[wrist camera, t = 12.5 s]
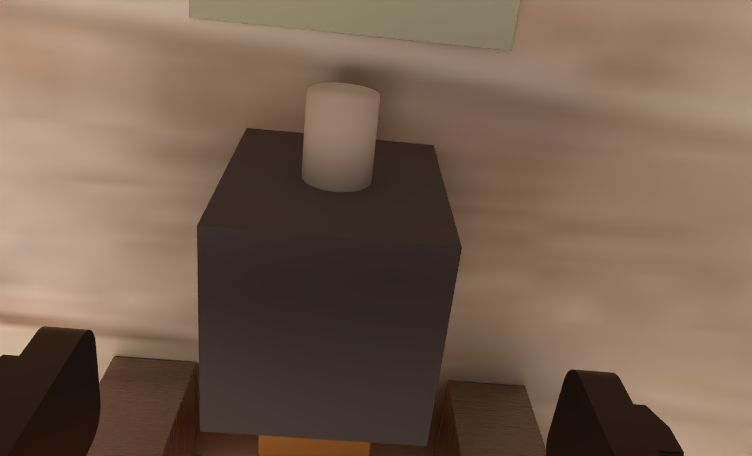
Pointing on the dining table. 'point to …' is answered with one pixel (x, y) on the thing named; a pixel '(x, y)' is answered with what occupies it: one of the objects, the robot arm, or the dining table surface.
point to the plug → (325, 284)
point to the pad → (378, 18)
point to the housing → (178, 414)
